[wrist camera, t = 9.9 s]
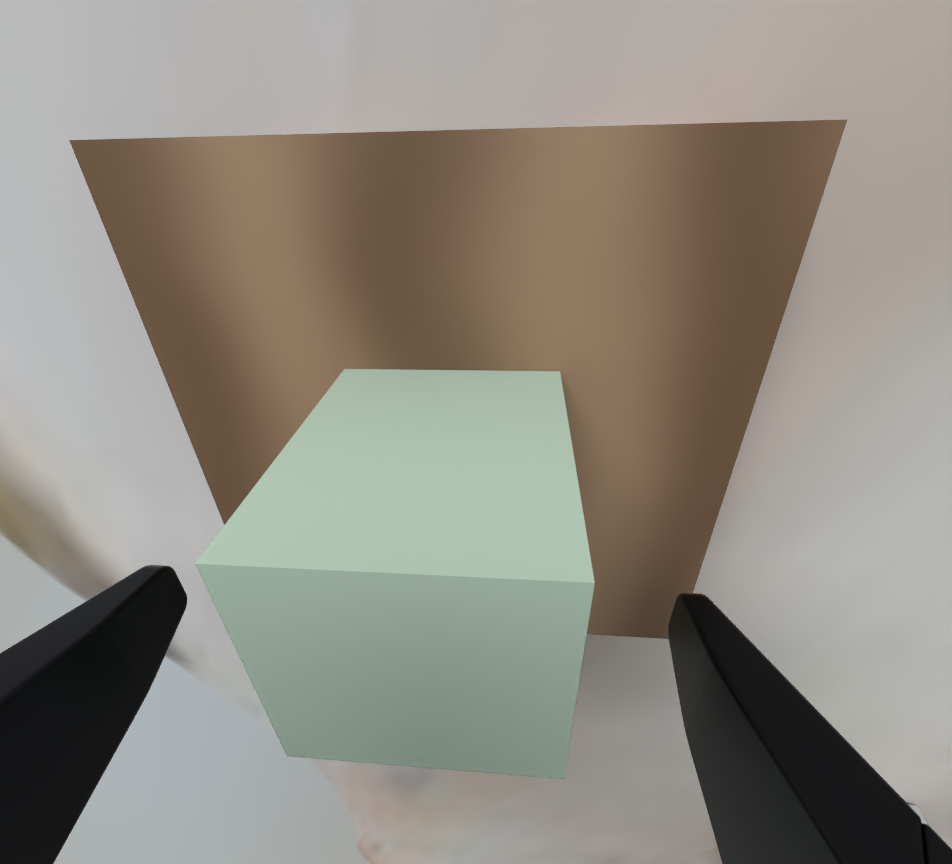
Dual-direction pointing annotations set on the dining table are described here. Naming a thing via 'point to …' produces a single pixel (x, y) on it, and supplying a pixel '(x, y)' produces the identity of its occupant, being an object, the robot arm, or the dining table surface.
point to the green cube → (416, 574)
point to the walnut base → (482, 297)
